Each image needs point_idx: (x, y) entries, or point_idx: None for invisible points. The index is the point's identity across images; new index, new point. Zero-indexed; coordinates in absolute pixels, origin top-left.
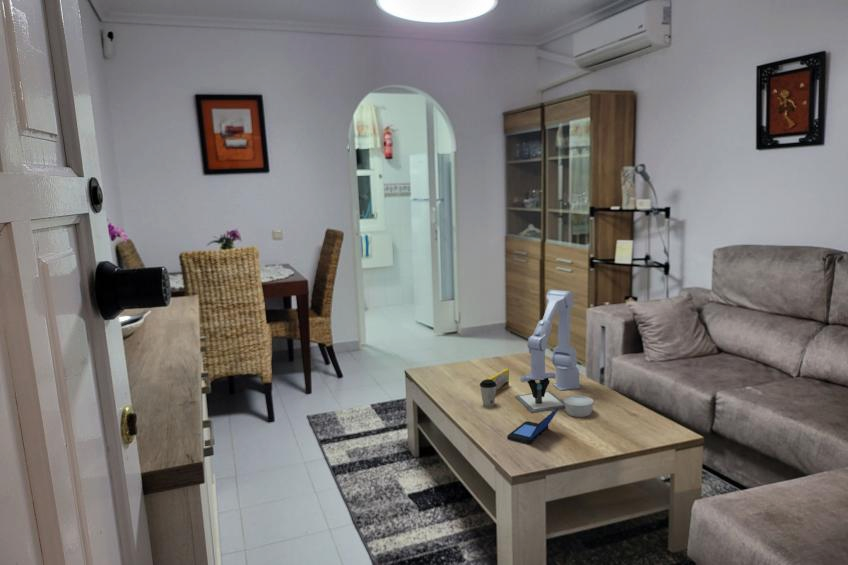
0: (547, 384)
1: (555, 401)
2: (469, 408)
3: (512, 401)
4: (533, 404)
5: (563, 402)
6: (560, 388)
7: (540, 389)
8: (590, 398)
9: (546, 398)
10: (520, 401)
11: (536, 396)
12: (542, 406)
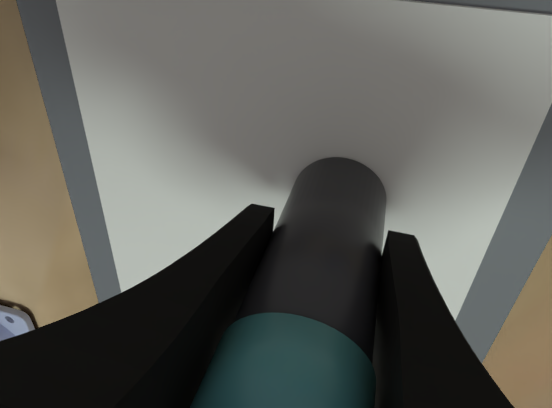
0: (52, 341)
1: (128, 125)
2: None
3: (546, 380)
4: (442, 182)
5: (44, 59)
6: (20, 330)
7: (286, 313)
8: None
9: (195, 242)
10: (494, 334)
11: (390, 242)
12: (374, 52)
